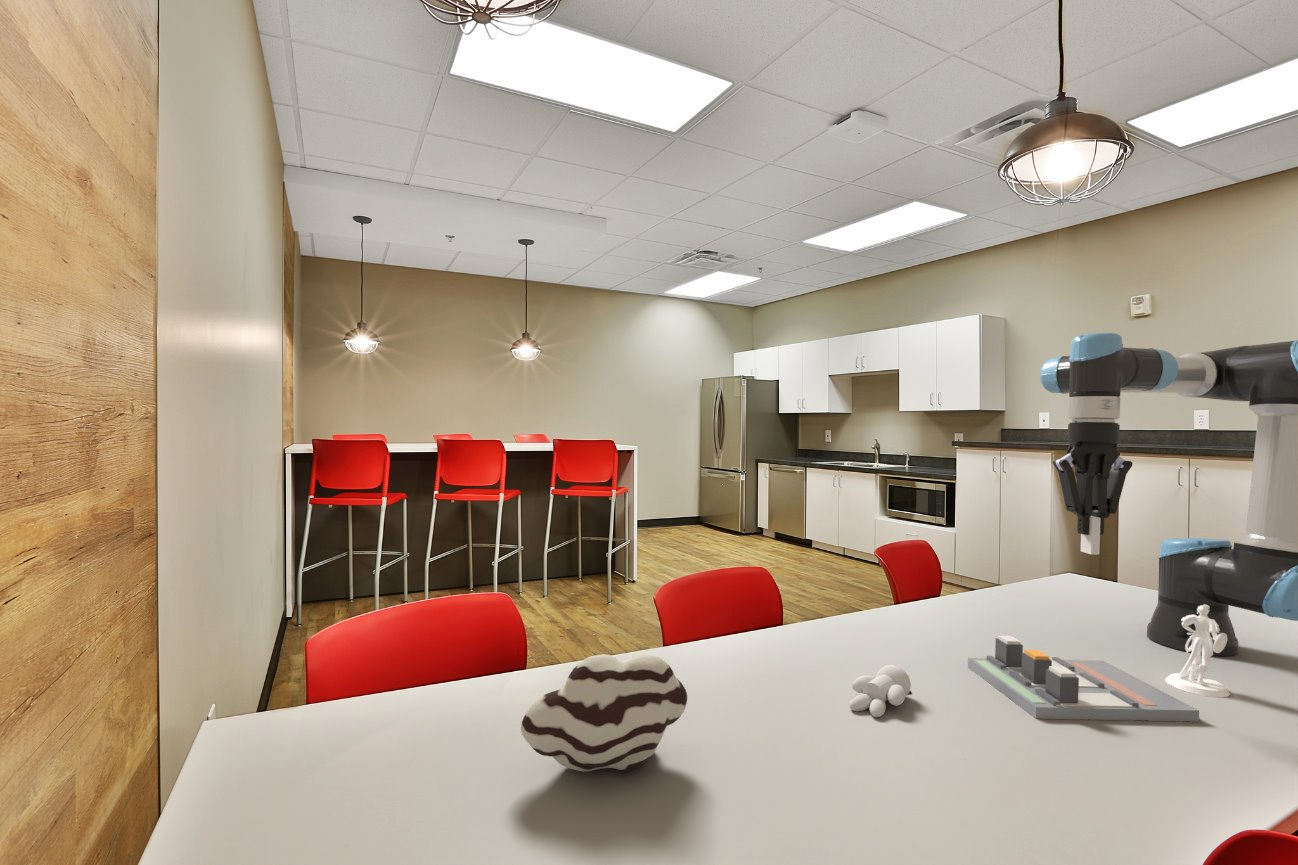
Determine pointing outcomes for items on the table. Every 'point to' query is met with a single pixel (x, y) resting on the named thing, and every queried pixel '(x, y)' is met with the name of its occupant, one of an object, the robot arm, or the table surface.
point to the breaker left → (1009, 651)
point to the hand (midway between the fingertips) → (1089, 552)
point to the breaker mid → (1035, 666)
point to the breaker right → (1062, 684)
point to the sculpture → (606, 713)
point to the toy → (880, 690)
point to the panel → (1086, 693)
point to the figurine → (1206, 646)
